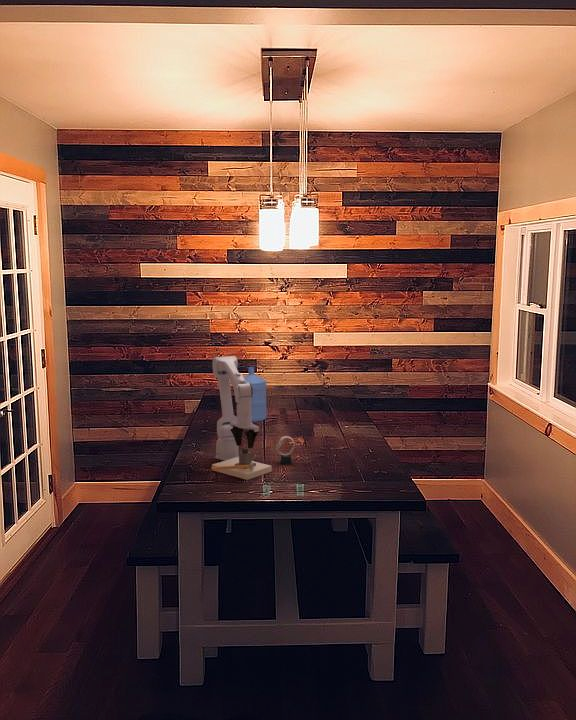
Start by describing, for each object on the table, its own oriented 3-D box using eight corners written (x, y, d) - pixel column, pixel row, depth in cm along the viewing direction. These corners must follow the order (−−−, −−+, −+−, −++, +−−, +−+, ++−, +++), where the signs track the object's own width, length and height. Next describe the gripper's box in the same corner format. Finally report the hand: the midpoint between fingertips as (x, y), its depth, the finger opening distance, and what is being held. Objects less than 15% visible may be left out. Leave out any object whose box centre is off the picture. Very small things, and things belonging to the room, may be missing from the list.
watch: (276, 460, 293) (275, 435, 291) (295, 460, 293) (294, 435, 291) (276, 464, 287) (275, 438, 286) (295, 464, 287) (295, 438, 286)
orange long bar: (212, 472, 268) (211, 466, 267) (211, 471, 270) (211, 465, 269) (254, 469, 271) (253, 463, 270) (253, 468, 272) (253, 462, 272)
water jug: (266, 422, 362) (265, 369, 358) (236, 422, 363) (235, 369, 358) (267, 415, 378) (266, 365, 374) (238, 415, 378) (237, 365, 374)
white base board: (212, 470, 280) (212, 464, 280) (236, 462, 291) (236, 457, 290) (247, 479, 267) (247, 474, 267) (271, 471, 278) (271, 465, 277)
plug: (235, 472, 277) (234, 449, 276) (245, 468, 282) (244, 446, 281) (245, 475, 273) (245, 451, 272) (256, 471, 278) (255, 448, 277)
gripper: (264, 414, 272) (264, 447, 274) (238, 409, 282) (239, 441, 284) (251, 417, 267) (252, 451, 269) (225, 412, 277) (226, 445, 279)
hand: (244, 446), depth 276 cm, fingers open, 6 cm apart
